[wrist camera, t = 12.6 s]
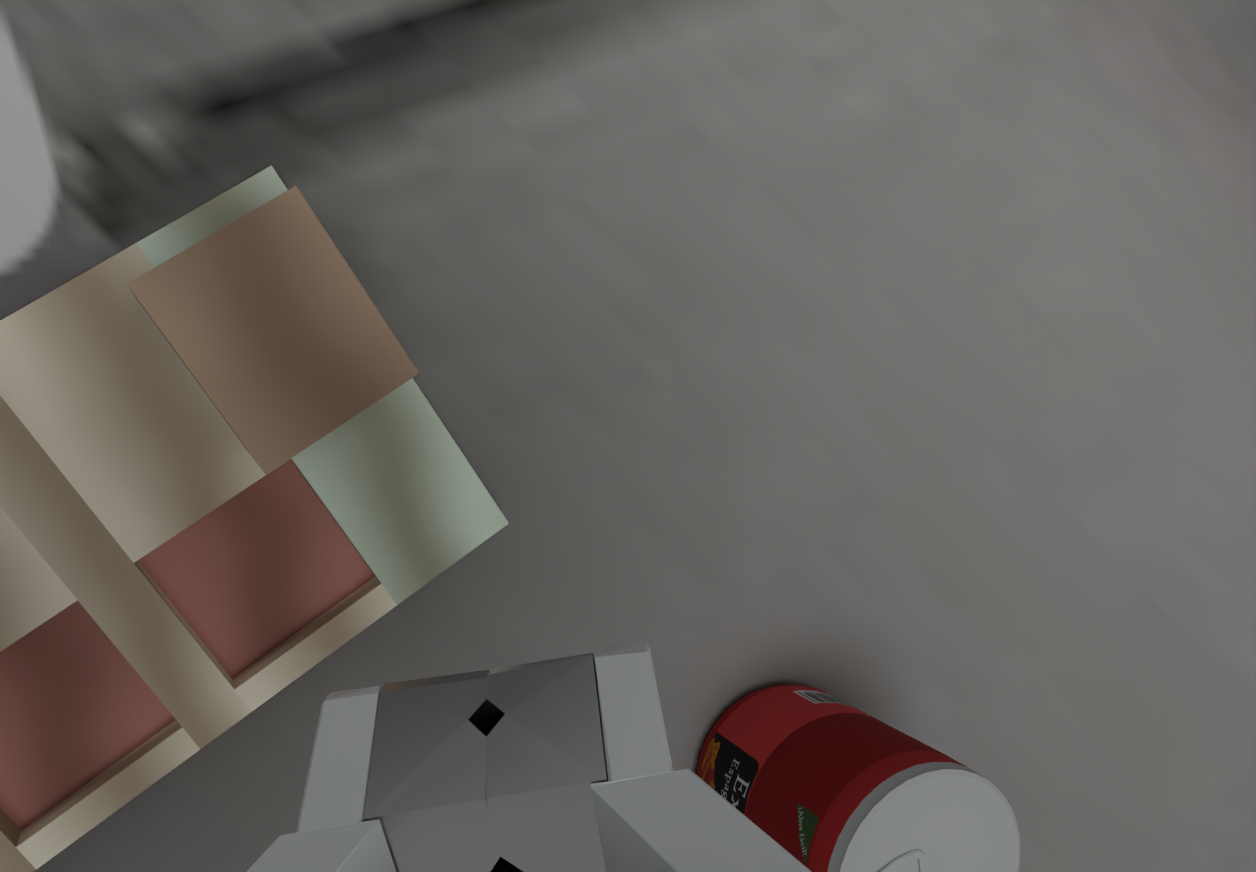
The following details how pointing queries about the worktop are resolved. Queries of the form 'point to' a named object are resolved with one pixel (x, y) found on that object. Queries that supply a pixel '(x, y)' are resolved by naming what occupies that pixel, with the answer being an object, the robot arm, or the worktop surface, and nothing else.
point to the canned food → (854, 789)
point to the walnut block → (275, 328)
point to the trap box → (180, 544)
